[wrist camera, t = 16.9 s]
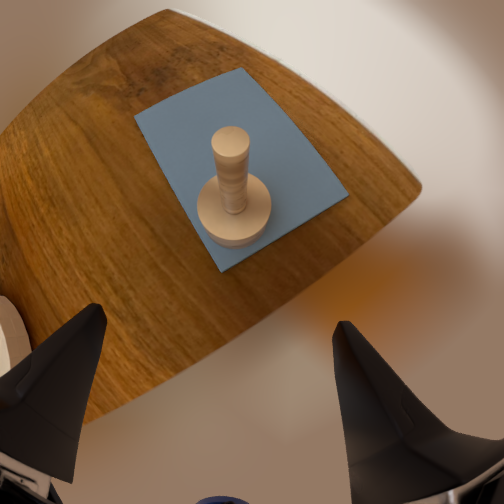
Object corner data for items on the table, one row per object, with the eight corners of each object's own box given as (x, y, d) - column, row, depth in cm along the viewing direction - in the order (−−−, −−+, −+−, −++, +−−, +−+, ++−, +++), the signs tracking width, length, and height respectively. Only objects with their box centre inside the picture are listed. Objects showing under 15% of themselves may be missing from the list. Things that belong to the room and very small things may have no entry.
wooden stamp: (251, 259, 23) (263, 215, 11) (192, 233, 23) (149, 170, 11) (276, 202, 24) (306, 120, 12) (219, 179, 24) (206, 87, 12)
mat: (347, 196, 25) (349, 194, 25) (221, 273, 23) (221, 272, 23) (241, 70, 28) (241, 67, 27) (135, 119, 26) (133, 116, 25)
